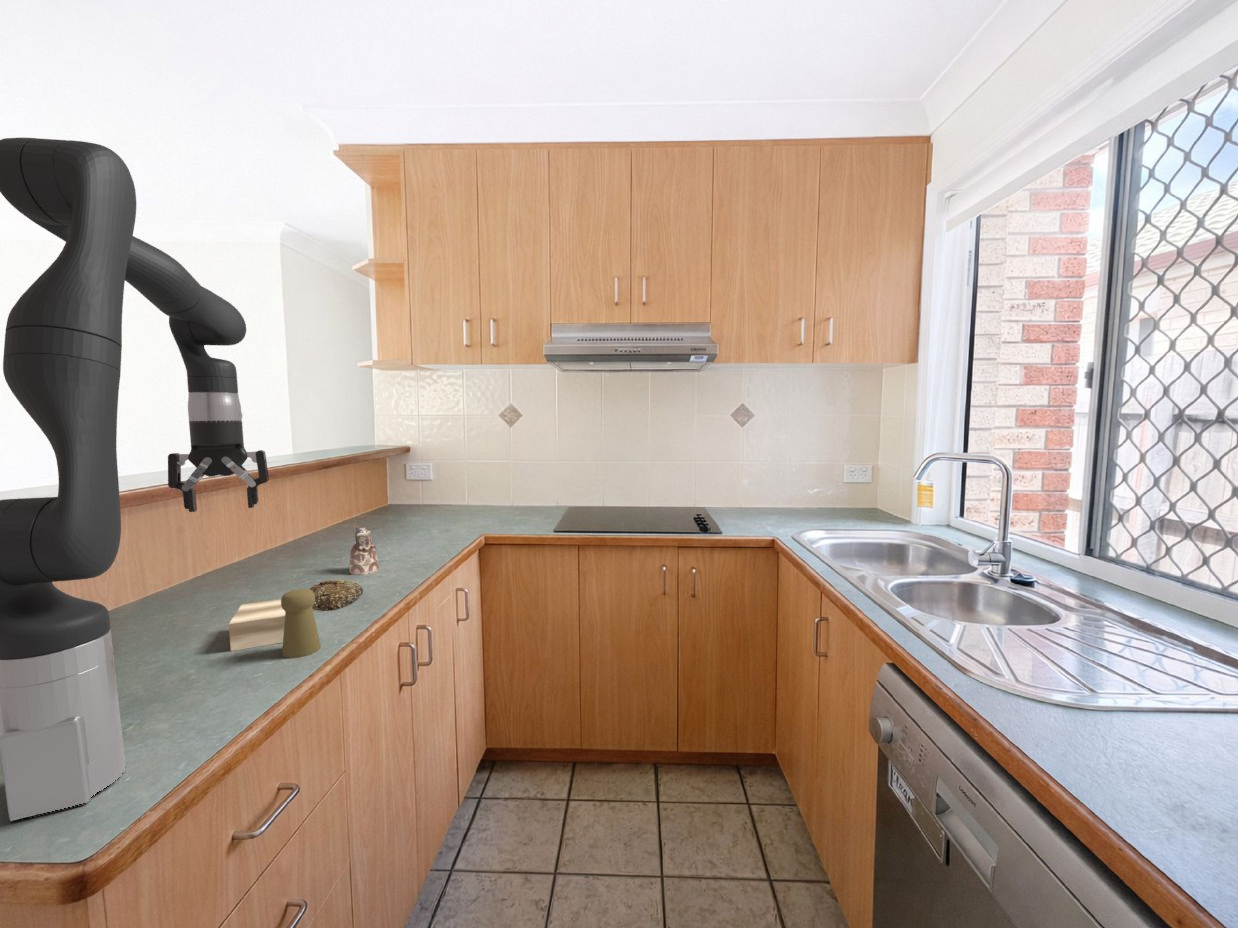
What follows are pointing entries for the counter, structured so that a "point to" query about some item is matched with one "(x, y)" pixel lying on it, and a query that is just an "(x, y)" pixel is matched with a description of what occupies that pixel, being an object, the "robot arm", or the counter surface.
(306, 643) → the olive knobbed peg
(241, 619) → the ash block
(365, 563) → the figurine
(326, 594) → the bread roll
